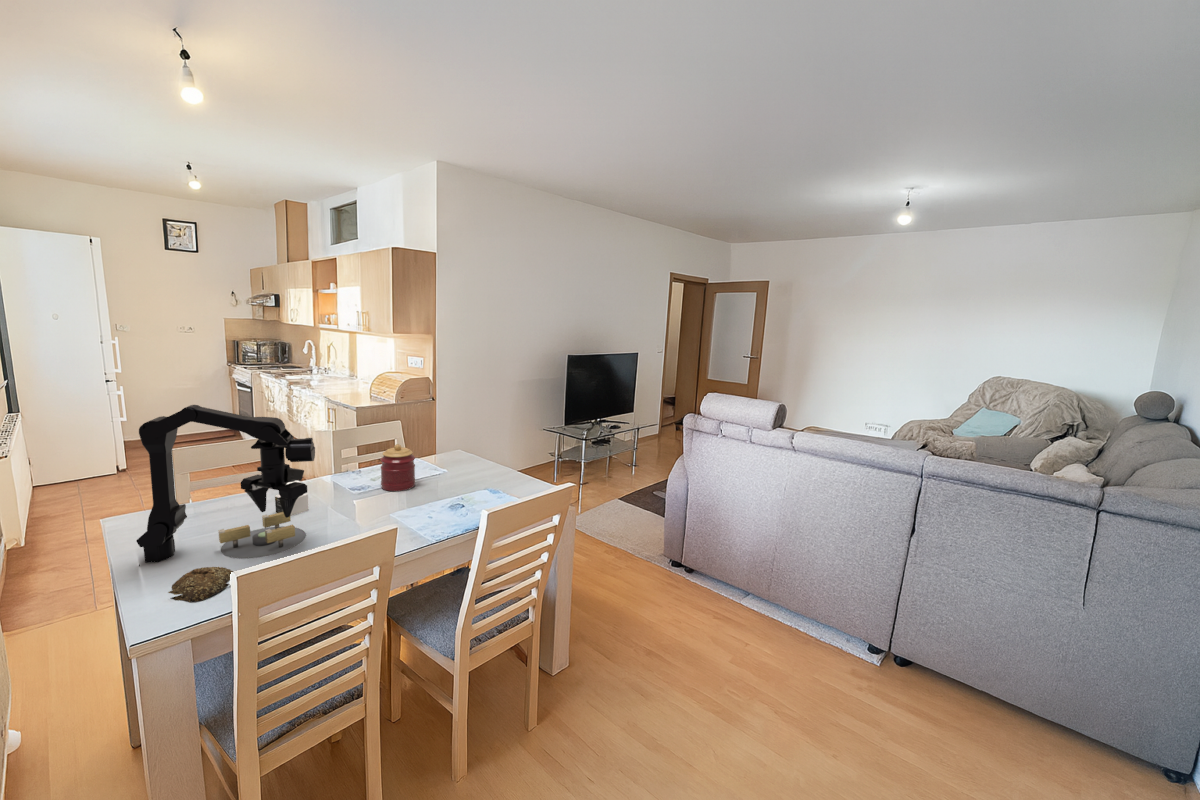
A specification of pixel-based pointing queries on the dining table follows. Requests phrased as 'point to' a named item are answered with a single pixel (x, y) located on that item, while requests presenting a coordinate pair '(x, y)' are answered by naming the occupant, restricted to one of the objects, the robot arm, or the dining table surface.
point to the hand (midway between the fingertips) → (275, 514)
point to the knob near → (279, 534)
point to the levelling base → (262, 550)
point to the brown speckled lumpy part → (200, 584)
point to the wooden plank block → (274, 520)
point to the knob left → (234, 534)
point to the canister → (397, 469)
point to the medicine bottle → (299, 505)
